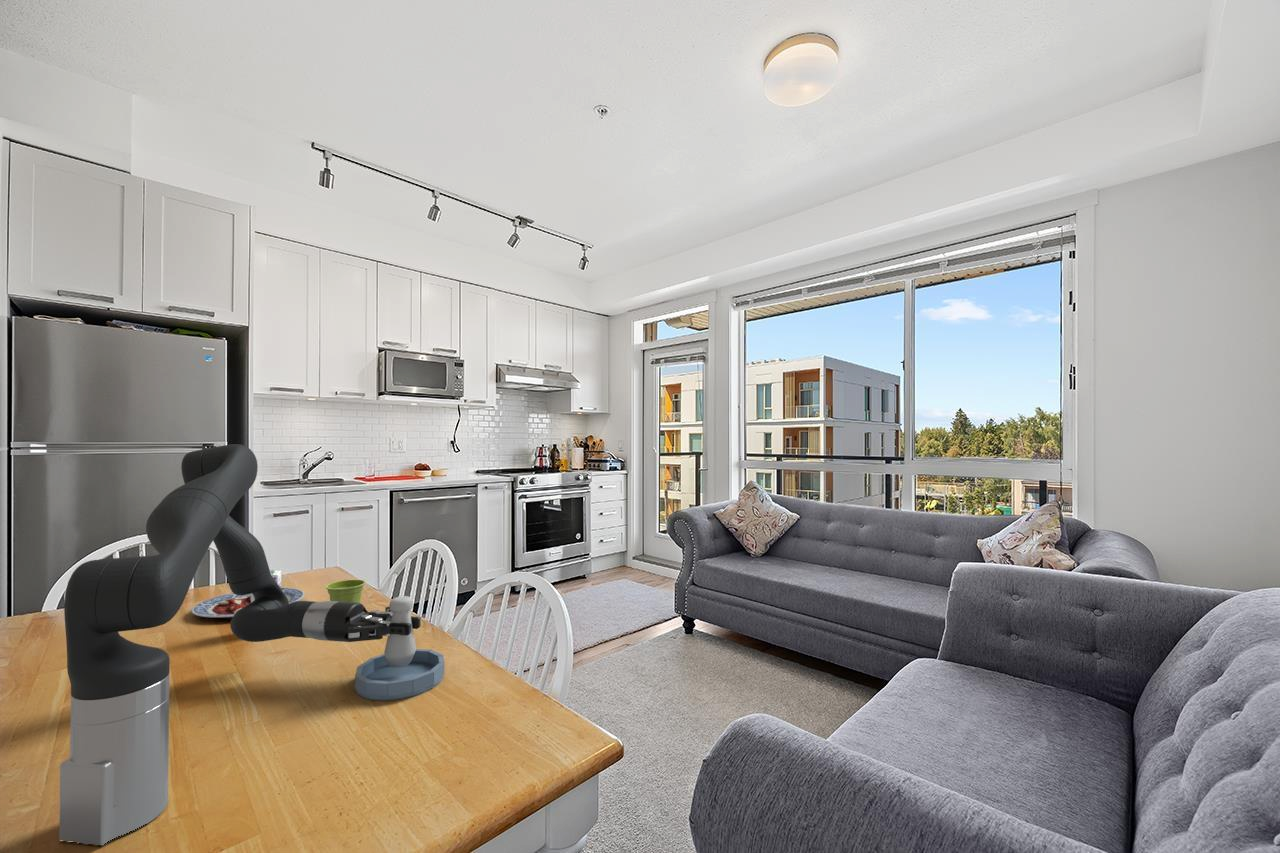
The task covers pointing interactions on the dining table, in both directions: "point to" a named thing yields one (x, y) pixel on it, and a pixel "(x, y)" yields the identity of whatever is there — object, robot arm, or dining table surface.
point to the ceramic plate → (235, 603)
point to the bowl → (399, 676)
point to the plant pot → (346, 590)
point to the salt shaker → (397, 645)
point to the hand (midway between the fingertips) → (414, 626)
